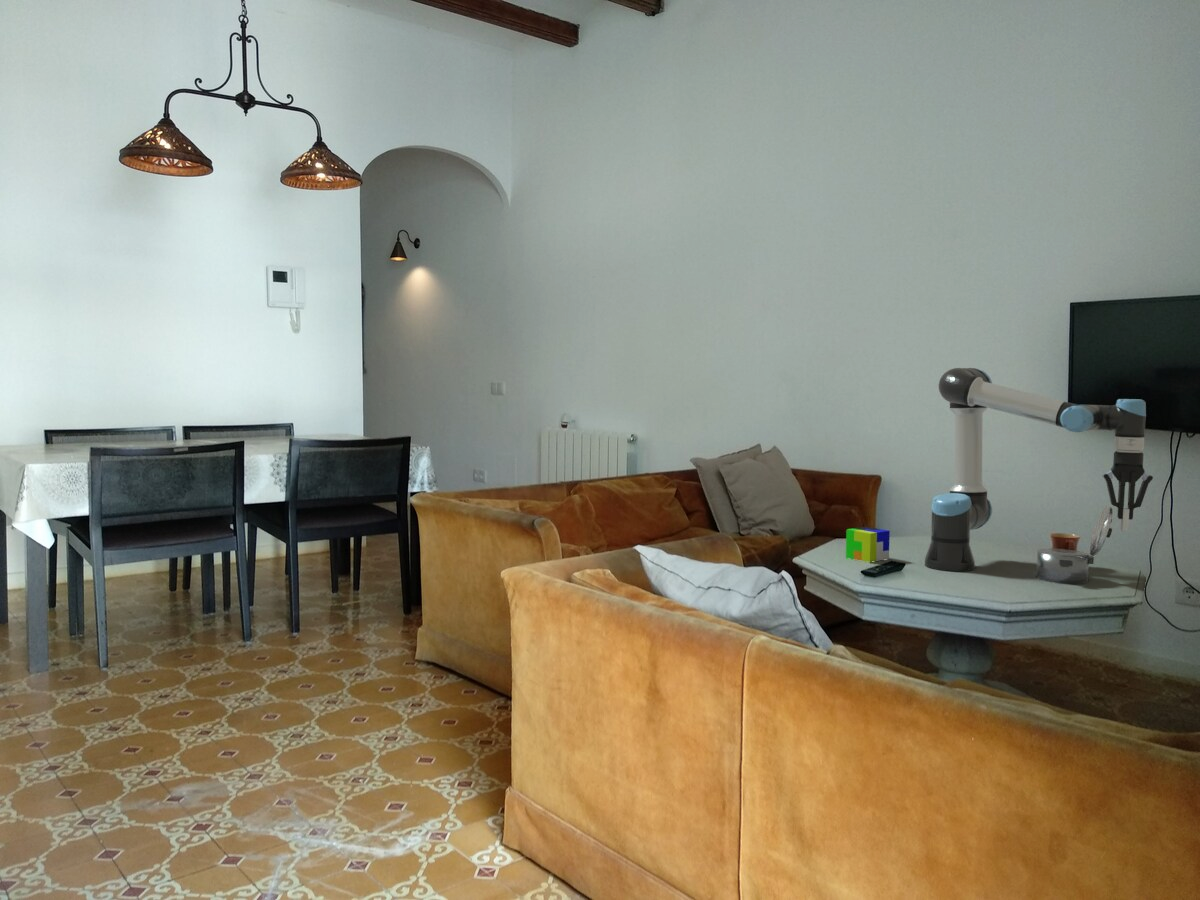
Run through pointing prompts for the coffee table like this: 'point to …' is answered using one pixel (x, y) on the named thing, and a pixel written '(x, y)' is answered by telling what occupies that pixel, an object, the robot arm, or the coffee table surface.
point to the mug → (1064, 541)
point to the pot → (1063, 566)
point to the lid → (1101, 530)
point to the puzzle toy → (867, 544)
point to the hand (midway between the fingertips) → (1124, 530)
